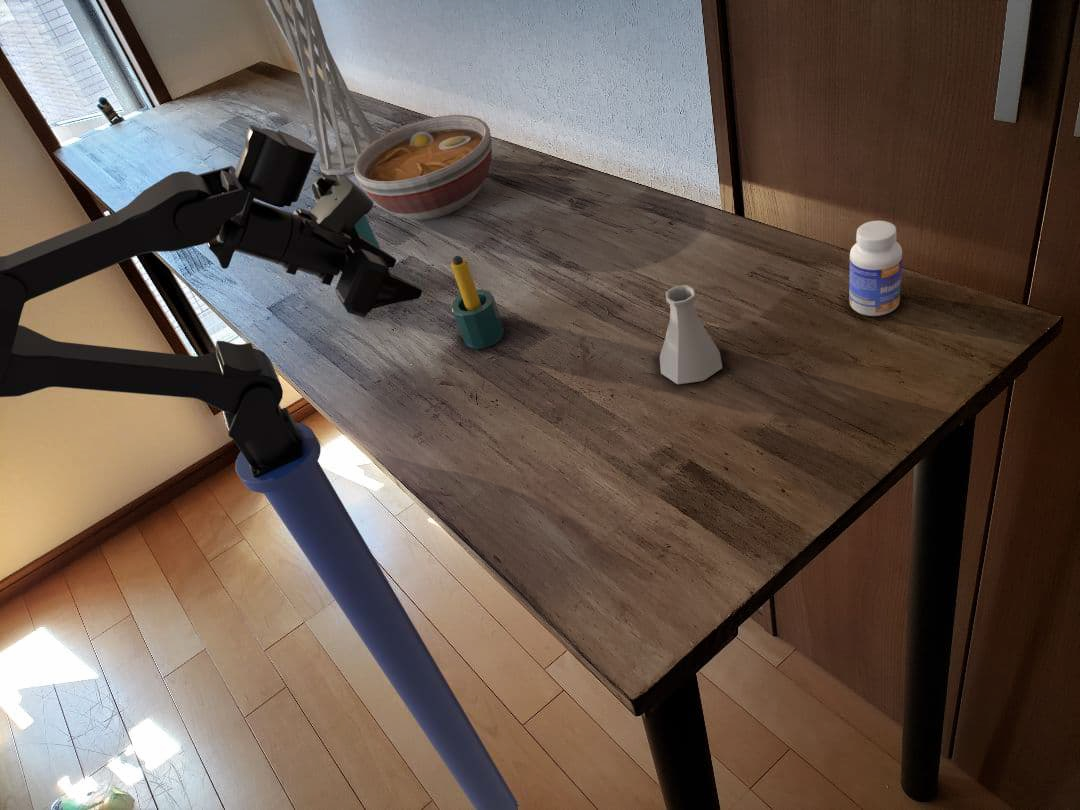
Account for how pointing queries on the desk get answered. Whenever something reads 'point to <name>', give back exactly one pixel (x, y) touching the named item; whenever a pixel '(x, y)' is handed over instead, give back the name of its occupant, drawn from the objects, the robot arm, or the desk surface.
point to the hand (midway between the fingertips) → (407, 278)
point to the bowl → (427, 166)
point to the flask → (687, 341)
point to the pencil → (465, 283)
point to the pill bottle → (875, 269)
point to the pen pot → (479, 321)
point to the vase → (323, 87)
